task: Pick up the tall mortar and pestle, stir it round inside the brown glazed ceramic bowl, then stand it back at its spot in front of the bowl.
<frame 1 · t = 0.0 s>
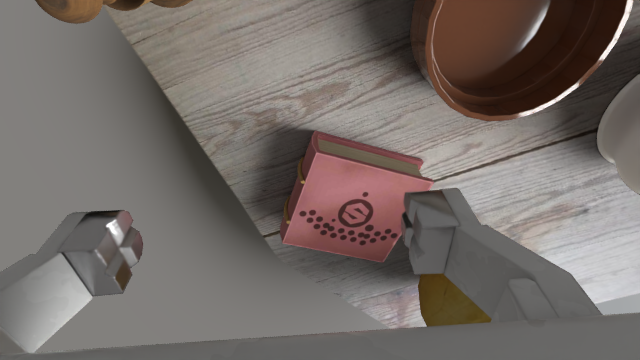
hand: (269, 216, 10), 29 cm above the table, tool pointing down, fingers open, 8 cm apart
book: (346, 188, 47), on the table
pitcher: (455, 257, 56), on the table
bowl: (495, 15, 35), on the table
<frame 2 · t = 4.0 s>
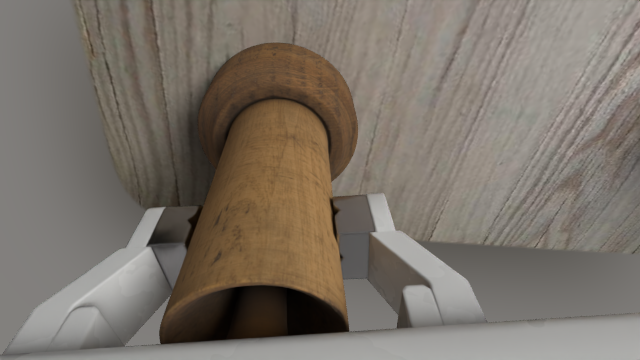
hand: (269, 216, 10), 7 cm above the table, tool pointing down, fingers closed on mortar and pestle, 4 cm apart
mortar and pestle: (281, 112, 16), on the table, touching gripper
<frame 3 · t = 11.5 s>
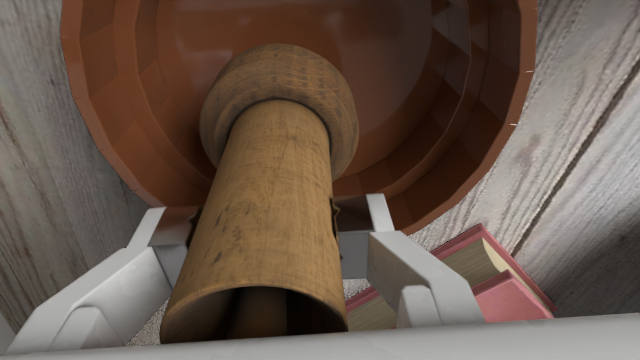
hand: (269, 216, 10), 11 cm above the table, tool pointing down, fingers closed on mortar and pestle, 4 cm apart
book: (441, 304, 32), on the table
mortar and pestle: (283, 112, 16), point 3 cm above the table, touching gripper
bowl: (305, 62, 18), on the table
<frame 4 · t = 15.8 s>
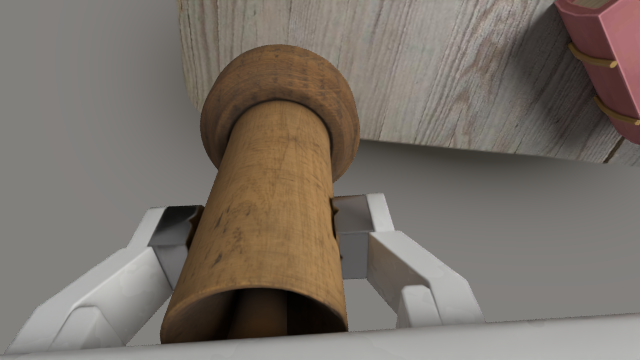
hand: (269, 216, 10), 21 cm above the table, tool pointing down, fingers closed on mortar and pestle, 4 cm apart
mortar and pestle: (284, 113, 16), point 14 cm above the table, touching gripper
when the fingers open (7 cm above the table, at t = 19.2 s): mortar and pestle stays where it is, on the table.
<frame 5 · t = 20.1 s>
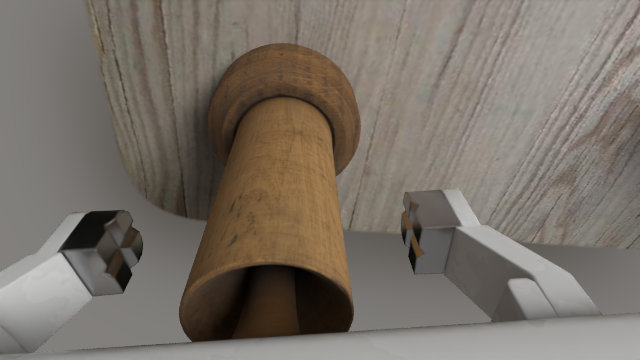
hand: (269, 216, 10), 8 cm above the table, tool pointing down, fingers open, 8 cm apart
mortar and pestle: (287, 110, 17), on the table
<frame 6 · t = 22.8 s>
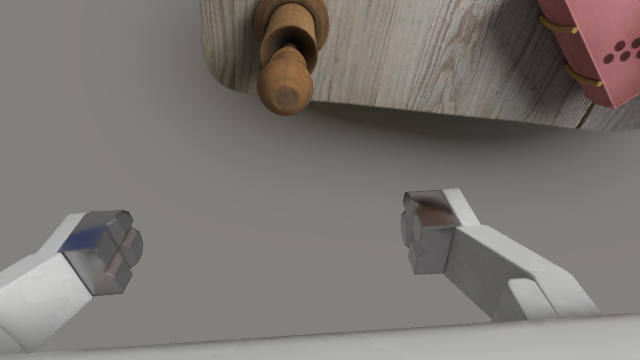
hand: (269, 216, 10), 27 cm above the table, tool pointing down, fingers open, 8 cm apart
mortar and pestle: (292, 20, 33), on the table
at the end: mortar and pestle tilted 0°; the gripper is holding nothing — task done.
